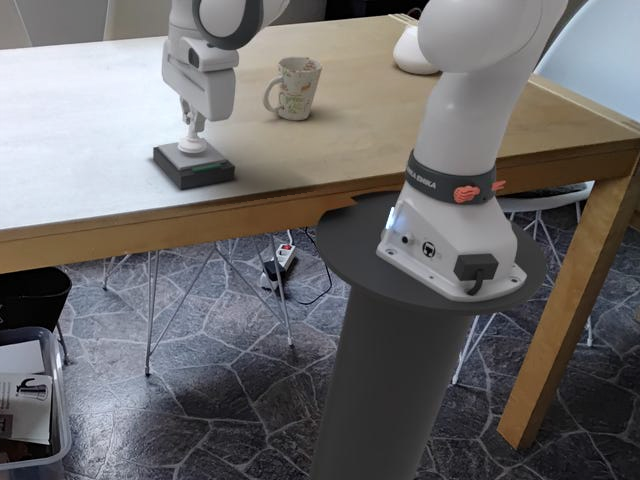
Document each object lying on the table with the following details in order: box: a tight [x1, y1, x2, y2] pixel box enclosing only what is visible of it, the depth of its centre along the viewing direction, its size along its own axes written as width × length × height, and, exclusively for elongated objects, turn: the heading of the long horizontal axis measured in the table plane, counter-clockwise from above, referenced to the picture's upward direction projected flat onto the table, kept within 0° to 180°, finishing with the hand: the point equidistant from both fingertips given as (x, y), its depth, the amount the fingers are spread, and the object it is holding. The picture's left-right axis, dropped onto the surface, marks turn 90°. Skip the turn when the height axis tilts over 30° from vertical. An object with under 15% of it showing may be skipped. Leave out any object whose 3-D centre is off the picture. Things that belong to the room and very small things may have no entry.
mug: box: [262, 56, 323, 121], centre depth 141 cm, size 8×13×10 cm, turn 125°
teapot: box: [392, 24, 440, 75], centre depth 163 cm, size 20×12×10 cm, turn 10°
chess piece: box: [178, 103, 207, 153], centre depth 121 cm, size 5×5×10 cm
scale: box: [152, 137, 236, 191], centre depth 126 cm, size 12×10×3 cm
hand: (193, 126), depth 122 cm, fingers closed on chess piece
